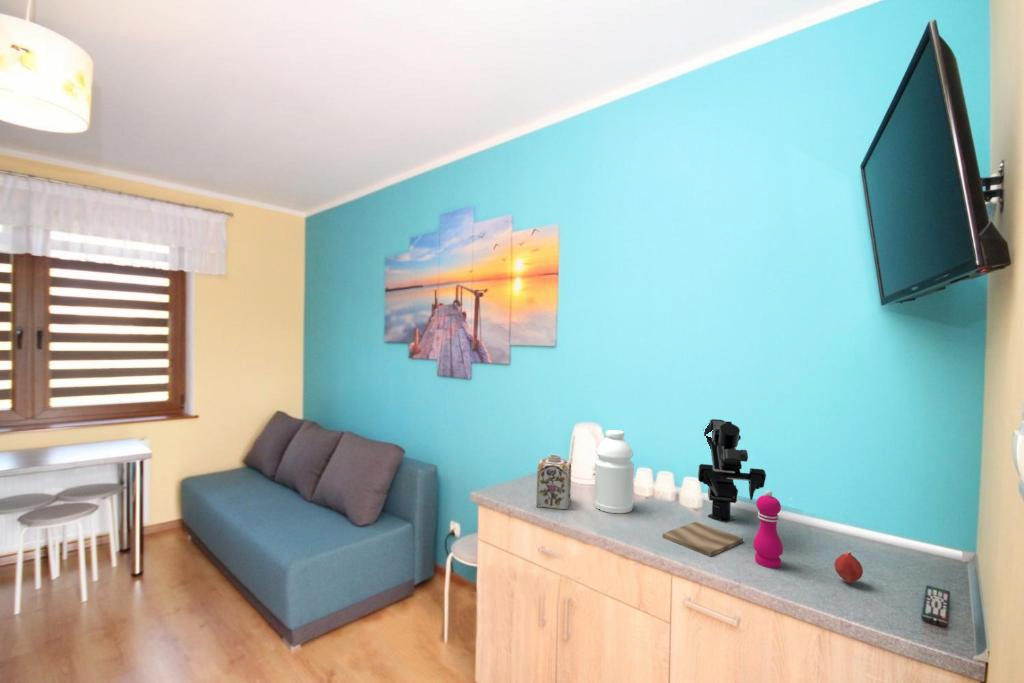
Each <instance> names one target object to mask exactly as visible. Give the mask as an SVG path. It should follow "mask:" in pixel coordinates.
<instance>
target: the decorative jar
mask: <svg viewBox="0 0 1024 683" xmlns="http://www.w3.org/2000/svg"><path fill="white" fill-rule="evenodd" d="M561 457H562V456H561V455H558V454H549V455H548V456H547V457H544V458H540V460H539V461H538V464H537V465H538V466H537V470H536V507H537V506H539V507H538V508H542V507H550V508H549V509H552V508H560V509H559V510H562V509H567V510H568V508H569V505H570V503H571V502H570V501H571V495H572V494H571V489H572V463H571V461H569V460H567V459H563V458H561Z"/></svg>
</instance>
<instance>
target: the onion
mask: <svg viewBox="0 0 1024 683" xmlns="http://www.w3.org/2000/svg"><path fill="white" fill-rule="evenodd" d="M834 569H835V572H836V573H837V574H838V576H839V577H840V578H842V580H844V582H845V583H847V584H852V583H854V582H856V581H858V580H860V579H861V578H862V576H863V573H864V569H863V565H862V564H861V563H860V561H859V560H858V559H857V558H856V557H855V556H853V554H852V551H847V552H845V553H843V554H841V555H839V556H838V557H837V558H836V559H835V561H834Z"/></svg>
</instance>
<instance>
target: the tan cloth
mask: <svg viewBox="0 0 1024 683" xmlns="http://www.w3.org/2000/svg"><path fill="white" fill-rule="evenodd" d="M662 538H663V539H665V538H666V539H665V540H669V541H670V542H673V543H675V544H678V545H680V544H681V546H682V545H683V547H685V548H687V547H688V549H690V548H691V549H690V550H692V551H695V552H698V553H700V554H703V555H704V556H707V557H709V558H711V557H713V556H716V555H718V554H720V553H723V552H724V550H725V551H727V550H729V549H731V548H733V547H735V545H736V546H738V545H740V544H742V543H744V537H740V536H738V535H735V534H732V533H729V532H726V531H724V530H721V529H718V528H715V527H712V526H709V525H706V524H704V523H700V522H698V521H695V522H692V523H688V524H686V525H682V526H680V527H677V528H674V529H671V530H668V531H666V532H662ZM741 542H742V543H741ZM739 543H740V544H739ZM737 544H738V545H737Z"/></svg>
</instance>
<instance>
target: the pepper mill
mask: <svg viewBox="0 0 1024 683" xmlns="http://www.w3.org/2000/svg"><path fill="white" fill-rule="evenodd" d="M755 504H756V505H755V506H756V508H757V510H758V512H757V514H758V515H757V518H758V519H759V527H758V531H757V532H756V534H755V536H754V539H753V542H752V547H753V549H754V550H755V553H754V561H755V562H756V563H757V564H758V565H761V566H763V567H766V568H771V569H777V568H780V567H781V566H782V559H781V557H780V556H782V555H783V553H784V552H783V551H784V546H783V543H782V541H781V538H780V537H779V534H778V530H777V522H779V521H780V520H779V518H780V516H779V513H780V512H781V509H782V507H781V503H780V501H779V499H778V498H776V497H774V496H773V492H772V491H771V490H768V489H767V490H765V491H764V494H763V495H760V496H759V497H757V499H756V502H755Z"/></svg>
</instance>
